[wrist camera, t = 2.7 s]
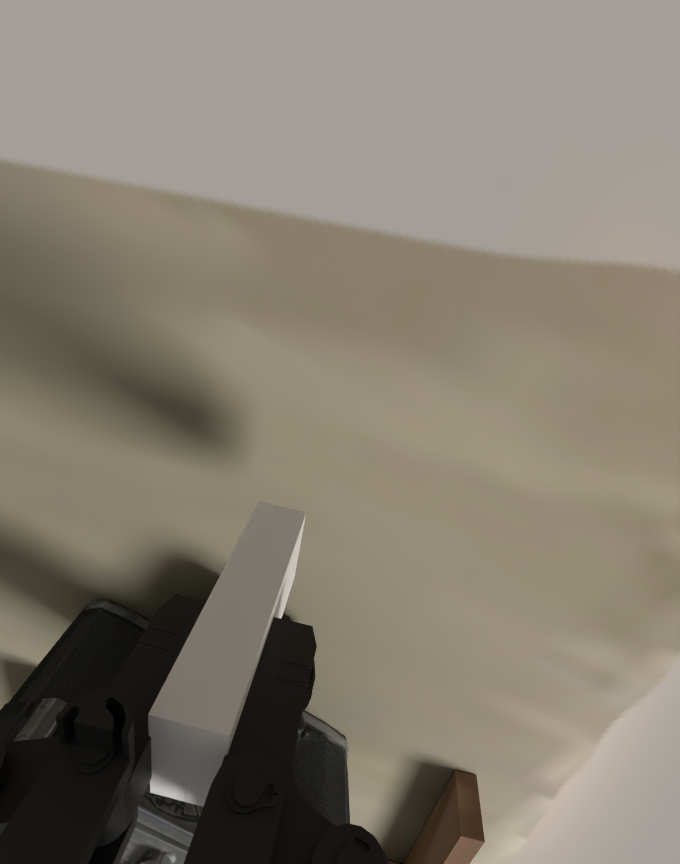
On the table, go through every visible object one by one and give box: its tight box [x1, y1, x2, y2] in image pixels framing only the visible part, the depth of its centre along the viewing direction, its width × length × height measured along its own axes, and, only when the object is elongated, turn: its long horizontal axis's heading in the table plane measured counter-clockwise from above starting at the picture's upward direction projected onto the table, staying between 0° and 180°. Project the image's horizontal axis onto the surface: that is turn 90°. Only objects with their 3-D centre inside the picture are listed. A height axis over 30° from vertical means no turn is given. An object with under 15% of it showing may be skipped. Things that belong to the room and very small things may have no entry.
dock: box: [387, 770, 485, 864], centre depth 27 cm, size 25×13×4 cm, turn 79°
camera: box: [0, 600, 350, 864], centre depth 19 cm, size 18×9×10 cm, turn 55°
